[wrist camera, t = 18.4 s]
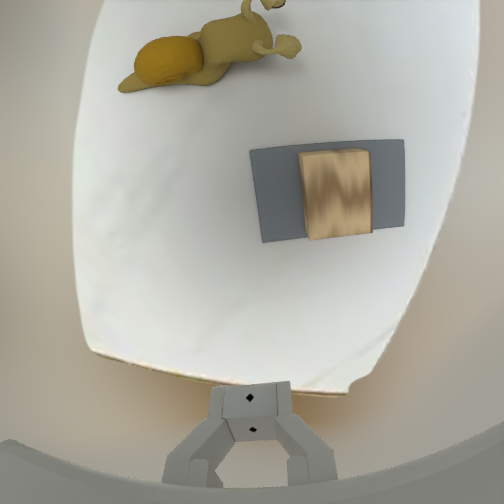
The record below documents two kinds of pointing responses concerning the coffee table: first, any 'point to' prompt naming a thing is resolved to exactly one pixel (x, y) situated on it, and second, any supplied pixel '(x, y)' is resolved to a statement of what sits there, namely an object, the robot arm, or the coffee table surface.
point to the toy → (208, 51)
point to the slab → (337, 192)
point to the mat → (290, 189)
